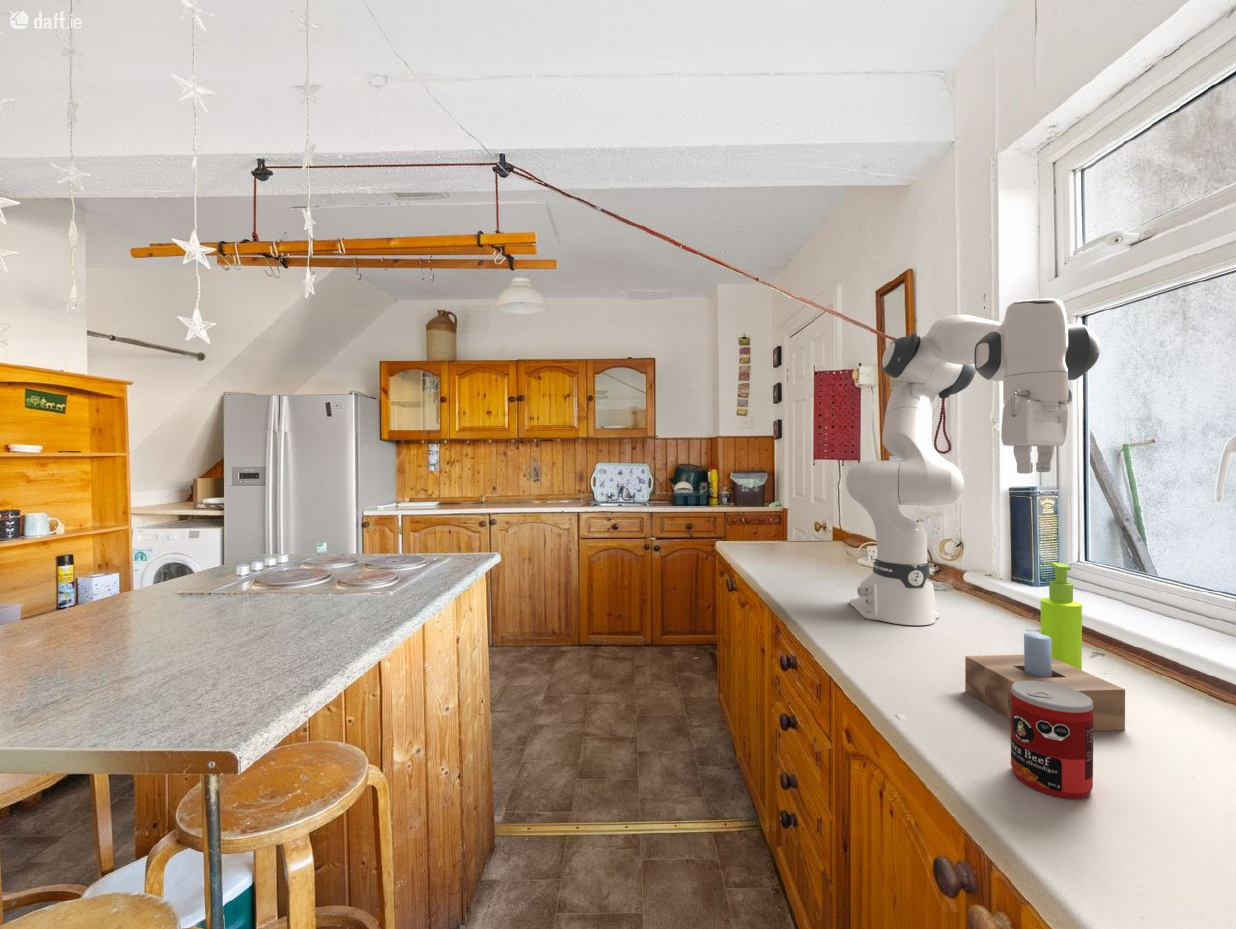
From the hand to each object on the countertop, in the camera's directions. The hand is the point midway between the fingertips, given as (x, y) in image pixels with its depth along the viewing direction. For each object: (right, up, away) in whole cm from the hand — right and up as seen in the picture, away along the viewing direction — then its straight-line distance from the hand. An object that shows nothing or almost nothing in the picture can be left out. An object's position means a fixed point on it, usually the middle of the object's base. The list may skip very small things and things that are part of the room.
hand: (1034, 472), depth 92 cm
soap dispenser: (+10, -37, +7) cm, 39 cm away
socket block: (-5, -37, -8) cm, 38 cm away
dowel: (-5, -37, -8) cm, 38 cm away
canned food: (-19, -38, -26) cm, 50 cm away
